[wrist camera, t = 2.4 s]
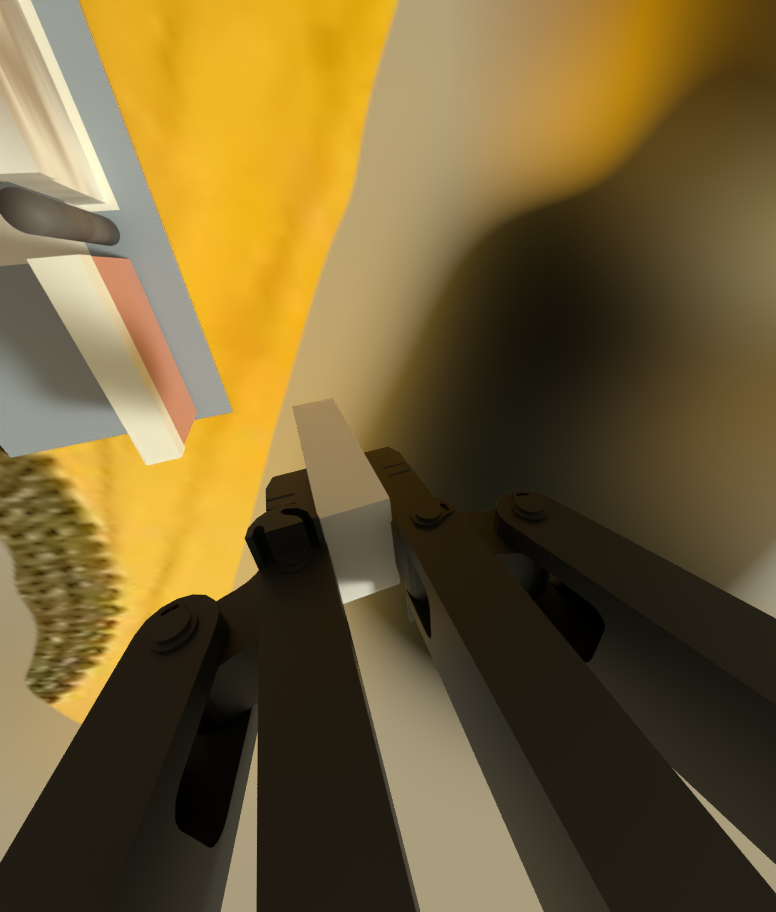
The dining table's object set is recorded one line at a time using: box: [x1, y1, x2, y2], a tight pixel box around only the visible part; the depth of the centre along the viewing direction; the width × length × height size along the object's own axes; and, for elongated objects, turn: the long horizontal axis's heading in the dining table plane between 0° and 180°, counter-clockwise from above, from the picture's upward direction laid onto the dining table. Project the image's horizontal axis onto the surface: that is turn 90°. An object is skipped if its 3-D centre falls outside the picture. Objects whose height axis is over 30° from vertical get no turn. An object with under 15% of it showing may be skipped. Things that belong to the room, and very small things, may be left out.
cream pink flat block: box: [26, 254, 197, 465], centre depth 16 cm, size 8×2×6 cm, turn 6°
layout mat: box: [0, 0, 232, 457], centre depth 15 cm, size 19×12×1 cm, turn 5°
